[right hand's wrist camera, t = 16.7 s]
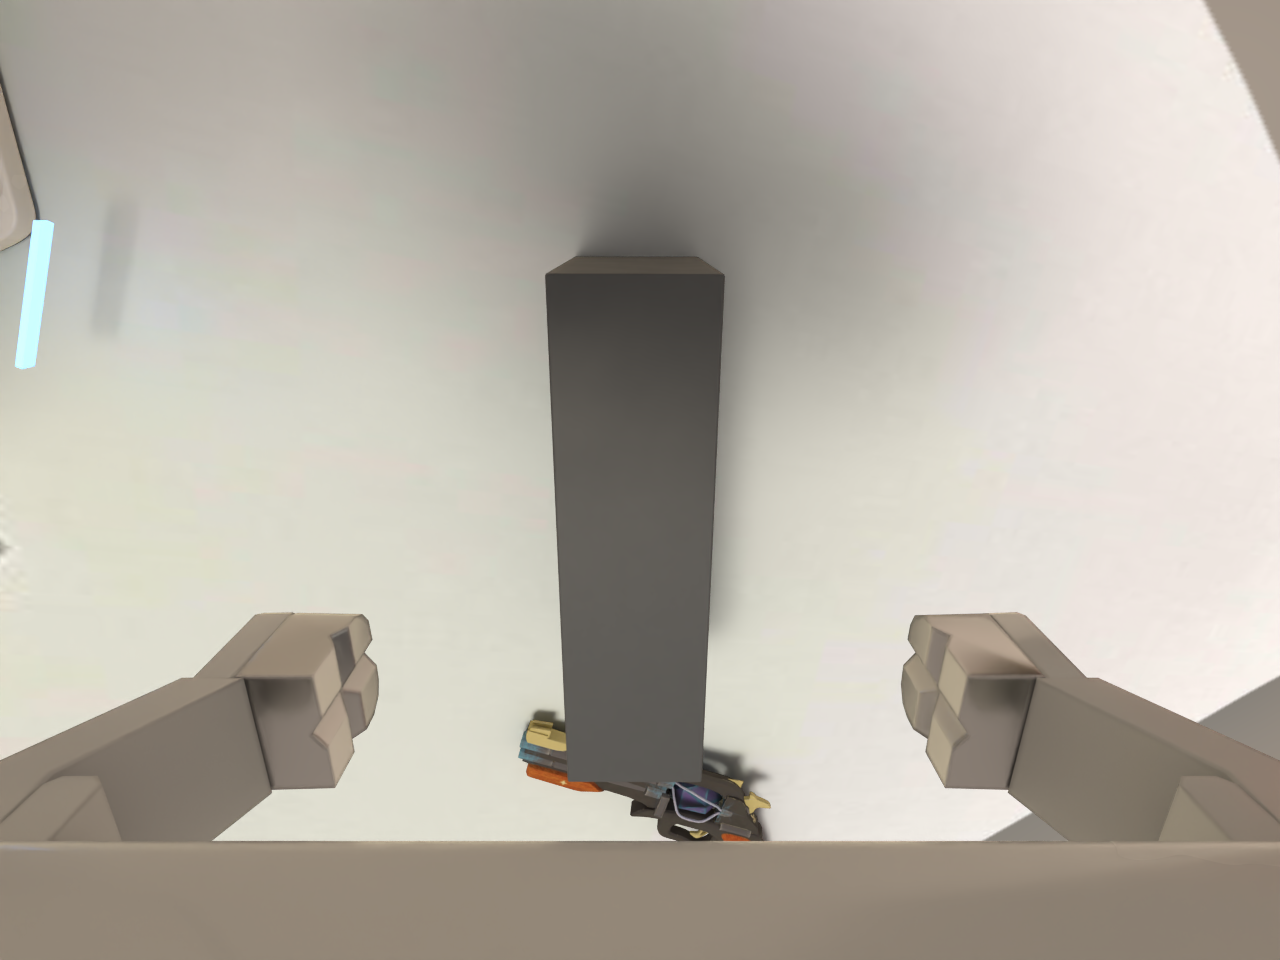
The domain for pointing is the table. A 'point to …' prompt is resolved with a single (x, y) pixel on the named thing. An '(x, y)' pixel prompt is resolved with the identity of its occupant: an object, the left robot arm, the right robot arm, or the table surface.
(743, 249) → the table surface
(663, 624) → the box
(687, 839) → the toy gun
